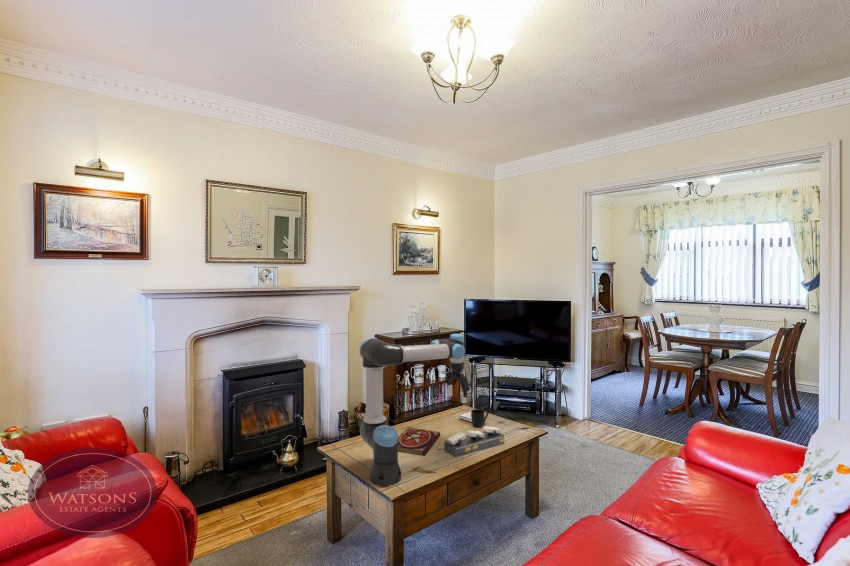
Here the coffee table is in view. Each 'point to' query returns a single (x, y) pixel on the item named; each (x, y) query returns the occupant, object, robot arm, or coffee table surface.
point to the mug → (478, 417)
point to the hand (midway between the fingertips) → (457, 399)
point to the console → (474, 444)
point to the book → (417, 440)
